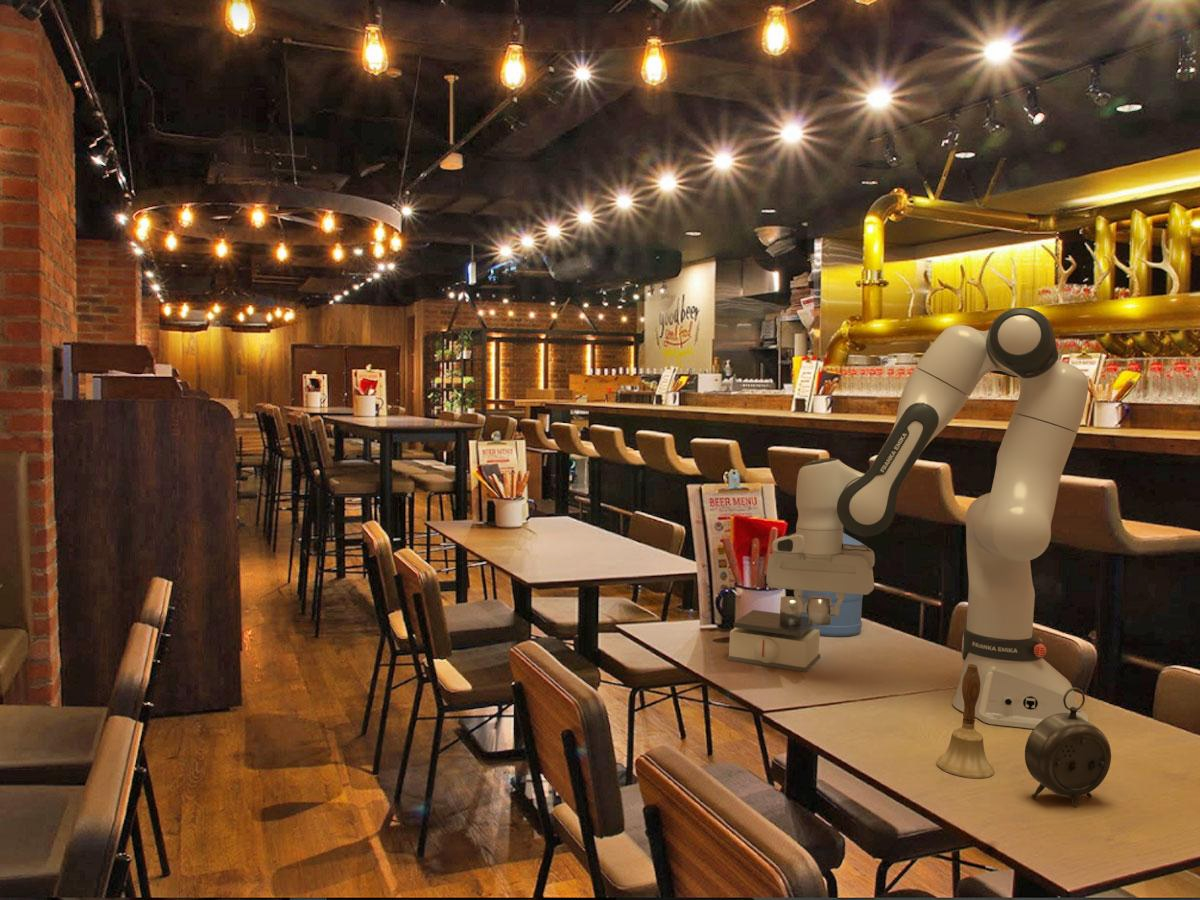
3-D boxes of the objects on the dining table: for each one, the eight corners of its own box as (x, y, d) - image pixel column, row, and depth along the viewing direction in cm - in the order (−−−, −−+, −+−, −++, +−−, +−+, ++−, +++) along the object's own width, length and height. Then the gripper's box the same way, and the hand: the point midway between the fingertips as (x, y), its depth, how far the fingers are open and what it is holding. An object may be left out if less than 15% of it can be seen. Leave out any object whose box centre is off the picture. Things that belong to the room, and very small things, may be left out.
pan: (816, 627, 213) (816, 618, 213) (800, 641, 200) (800, 631, 200) (752, 618, 219) (753, 609, 218) (733, 632, 206) (733, 622, 206)
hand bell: (1003, 769, 151) (1010, 666, 150) (979, 783, 145) (985, 675, 144) (951, 754, 157) (957, 654, 156) (926, 766, 151) (932, 663, 150)
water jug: (864, 639, 229) (871, 518, 227) (795, 634, 231) (801, 515, 230) (858, 624, 244) (864, 511, 243) (792, 619, 247) (798, 507, 245)
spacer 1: (782, 618, 211) (783, 595, 210) (803, 621, 209) (804, 598, 209) (777, 622, 207) (778, 599, 206) (798, 625, 205) (799, 601, 205)
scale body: (820, 657, 212) (821, 629, 211) (805, 672, 200) (806, 643, 200) (744, 646, 219) (746, 619, 218) (726, 660, 207) (727, 631, 207)
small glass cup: (830, 620, 194) (830, 595, 194) (831, 626, 190) (831, 600, 189) (807, 620, 195) (807, 594, 194) (807, 625, 190) (807, 599, 190)
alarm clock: (1089, 792, 143) (1097, 681, 142) (1114, 808, 138) (1122, 693, 137) (1019, 794, 142) (1026, 682, 141) (1042, 810, 136) (1050, 694, 135)
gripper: (877, 543, 190) (877, 615, 191) (772, 537, 198) (772, 606, 199) (872, 547, 184) (871, 622, 185) (763, 542, 193) (764, 612, 193)
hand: (819, 613), depth 192 cm, fingers closed on small glass cup, 4 cm apart
